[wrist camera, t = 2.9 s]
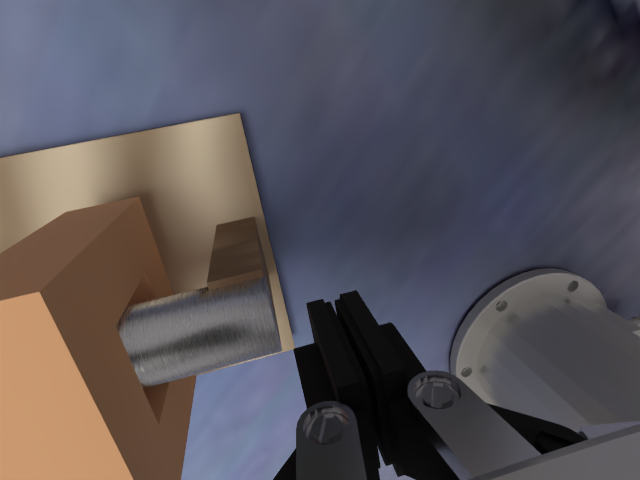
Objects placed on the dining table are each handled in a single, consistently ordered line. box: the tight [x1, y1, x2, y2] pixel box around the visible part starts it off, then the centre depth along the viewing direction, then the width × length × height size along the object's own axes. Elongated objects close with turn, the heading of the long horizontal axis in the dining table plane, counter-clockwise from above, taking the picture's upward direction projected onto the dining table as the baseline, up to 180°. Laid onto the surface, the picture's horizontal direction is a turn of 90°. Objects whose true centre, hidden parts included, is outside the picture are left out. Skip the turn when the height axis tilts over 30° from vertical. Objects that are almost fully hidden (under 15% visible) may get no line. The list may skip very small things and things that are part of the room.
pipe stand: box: [0, 113, 295, 375], centre depth 17 cm, size 24×14×8 cm, turn 100°
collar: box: [0, 197, 197, 480], centre depth 14 cm, size 3×9×9 cm, turn 10°
